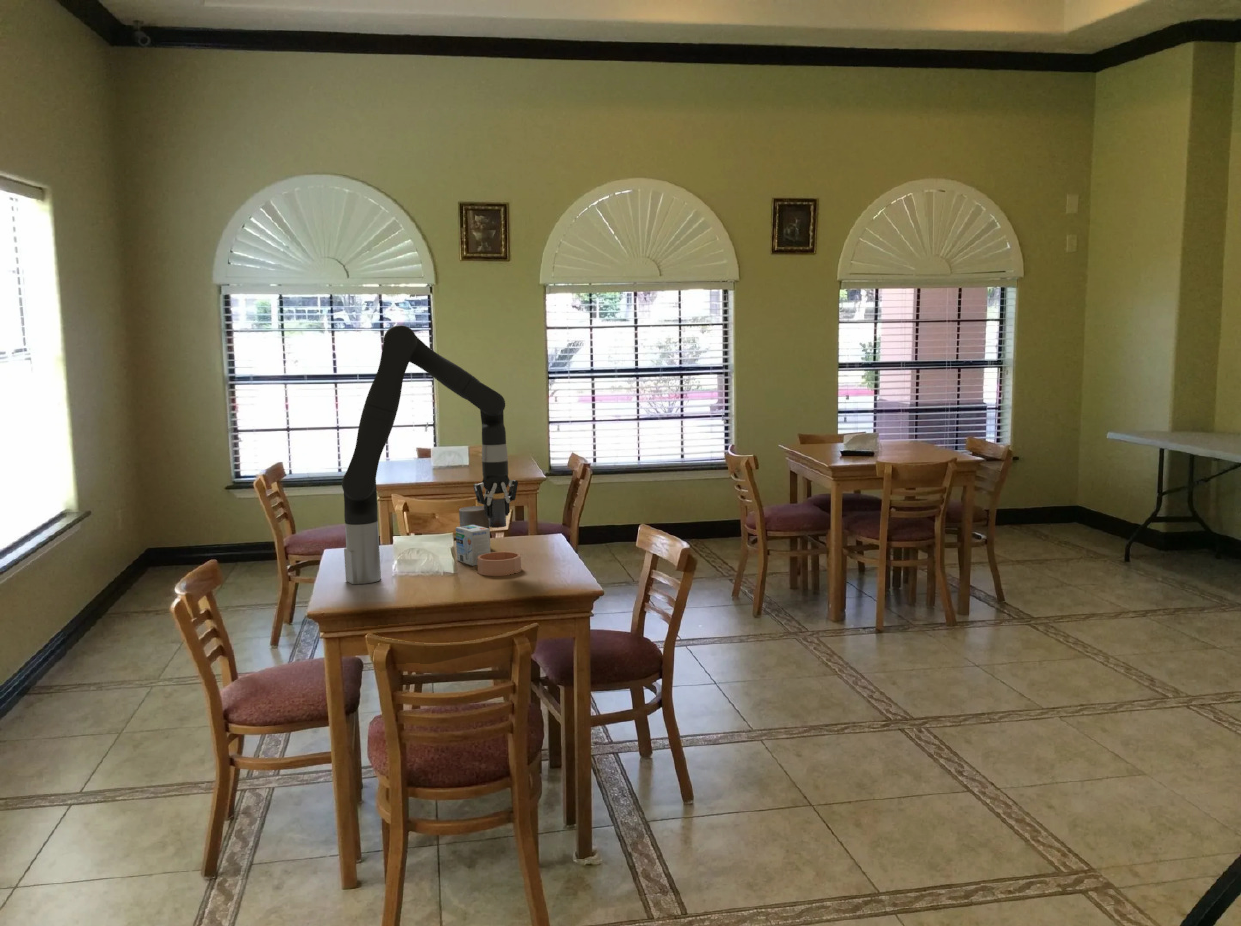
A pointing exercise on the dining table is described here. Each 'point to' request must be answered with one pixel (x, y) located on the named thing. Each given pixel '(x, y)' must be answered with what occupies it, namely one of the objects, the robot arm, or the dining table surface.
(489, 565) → the pink round dish
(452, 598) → the dining table surface
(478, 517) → the pillar candle
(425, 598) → the dining table surface
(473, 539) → the light bulb box
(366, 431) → the robot arm
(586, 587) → the dining table surface
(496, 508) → the black cell
